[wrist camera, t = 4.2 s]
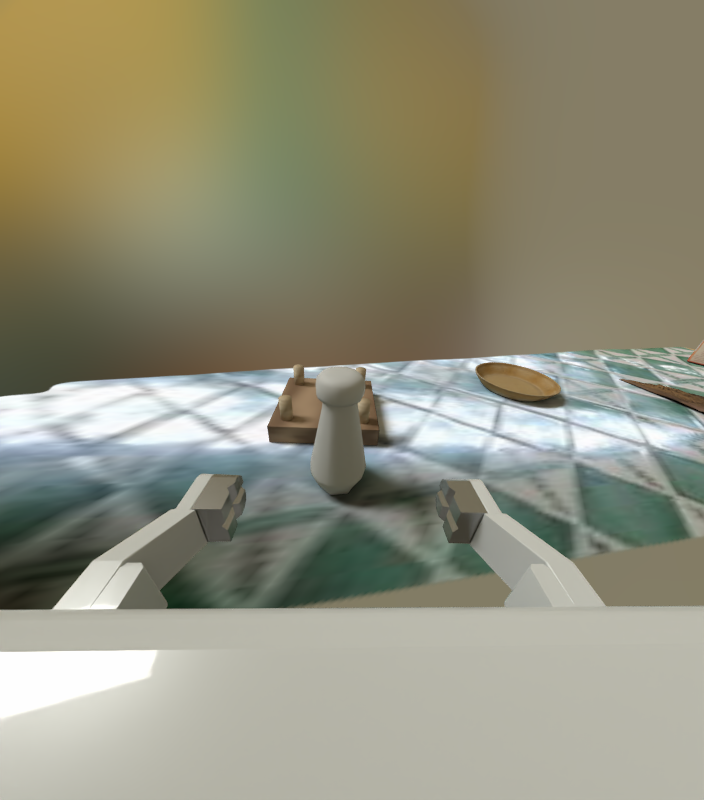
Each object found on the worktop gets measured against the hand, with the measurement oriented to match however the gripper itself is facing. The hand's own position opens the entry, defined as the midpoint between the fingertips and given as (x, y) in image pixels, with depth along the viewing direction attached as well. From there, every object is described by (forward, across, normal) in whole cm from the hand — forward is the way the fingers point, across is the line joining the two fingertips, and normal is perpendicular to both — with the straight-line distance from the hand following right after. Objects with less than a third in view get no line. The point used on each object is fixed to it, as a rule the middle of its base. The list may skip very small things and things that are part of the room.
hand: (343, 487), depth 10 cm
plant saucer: (+37, +34, -13) cm, 52 cm away
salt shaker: (+13, 0, -13) cm, 18 cm away
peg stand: (+26, -2, -13) cm, 29 cm away
